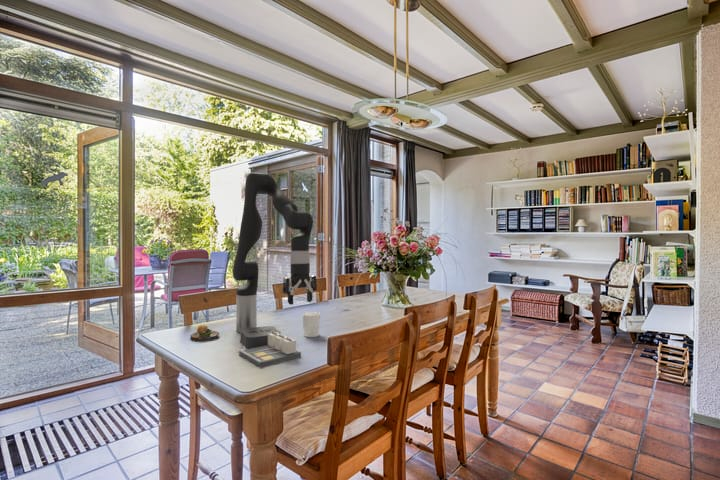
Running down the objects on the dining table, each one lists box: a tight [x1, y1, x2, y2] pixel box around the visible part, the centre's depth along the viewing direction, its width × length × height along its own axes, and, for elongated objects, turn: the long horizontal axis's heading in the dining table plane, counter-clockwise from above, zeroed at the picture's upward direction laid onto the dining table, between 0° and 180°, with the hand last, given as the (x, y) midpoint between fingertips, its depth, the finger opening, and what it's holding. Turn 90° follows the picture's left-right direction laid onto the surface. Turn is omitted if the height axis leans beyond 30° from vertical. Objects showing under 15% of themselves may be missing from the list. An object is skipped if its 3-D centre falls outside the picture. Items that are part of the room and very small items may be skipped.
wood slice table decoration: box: [190, 324, 220, 342], centre depth 165 cm, size 12×12×8 cm
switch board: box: [238, 345, 302, 368], centre depth 143 cm, size 16×17×2 cm
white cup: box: [302, 311, 321, 338], centre depth 171 cm, size 8×8×10 cm
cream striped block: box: [282, 337, 297, 354], centre depth 142 cm, size 4×4×5 cm
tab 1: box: [268, 332, 282, 347], centre depth 150 cm, size 4×4×5 cm
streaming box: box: [240, 325, 282, 350], centre depth 159 cm, size 14×14×5 cm
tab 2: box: [275, 334, 289, 351], centre depth 146 cm, size 4×4×5 cm
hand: (300, 303), depth 148 cm, fingers open, 8 cm apart
